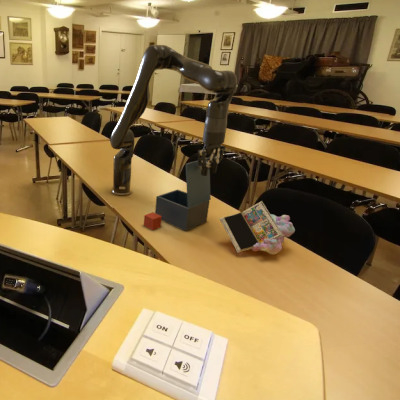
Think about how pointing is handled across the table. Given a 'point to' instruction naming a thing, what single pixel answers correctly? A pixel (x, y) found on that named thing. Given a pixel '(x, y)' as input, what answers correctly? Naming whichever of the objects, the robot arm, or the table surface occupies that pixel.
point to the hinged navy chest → (180, 210)
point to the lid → (197, 184)
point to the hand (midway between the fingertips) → (208, 173)
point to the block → (152, 221)
